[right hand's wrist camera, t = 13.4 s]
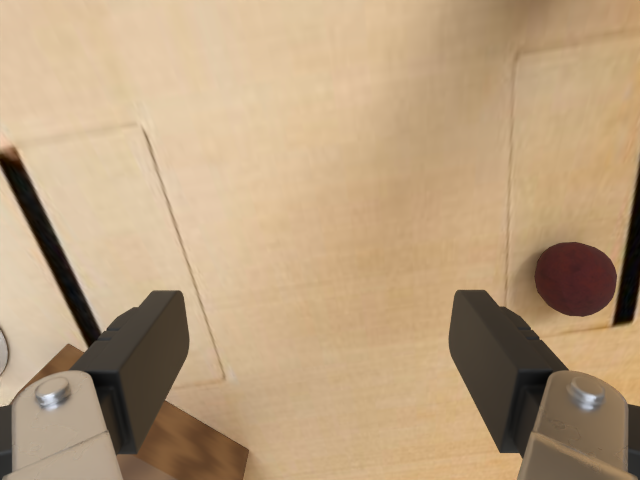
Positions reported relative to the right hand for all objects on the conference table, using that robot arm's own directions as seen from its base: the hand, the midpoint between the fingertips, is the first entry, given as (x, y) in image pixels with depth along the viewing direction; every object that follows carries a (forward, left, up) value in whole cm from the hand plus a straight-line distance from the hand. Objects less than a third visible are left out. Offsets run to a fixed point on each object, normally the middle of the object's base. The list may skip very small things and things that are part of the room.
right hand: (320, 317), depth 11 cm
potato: (-17, +23, -30) cm, 42 cm away
